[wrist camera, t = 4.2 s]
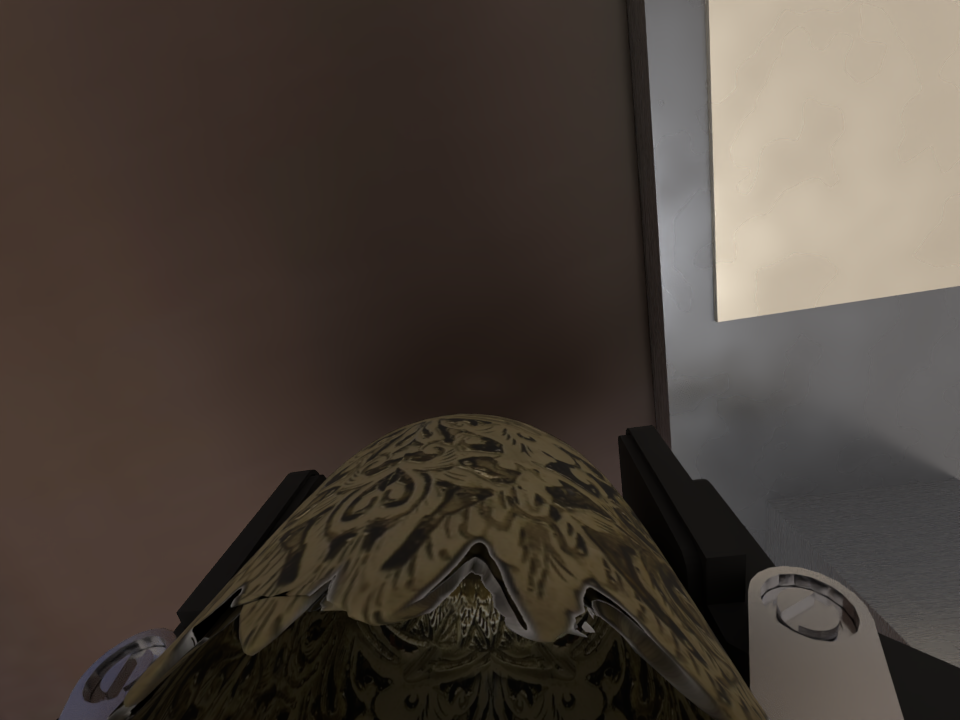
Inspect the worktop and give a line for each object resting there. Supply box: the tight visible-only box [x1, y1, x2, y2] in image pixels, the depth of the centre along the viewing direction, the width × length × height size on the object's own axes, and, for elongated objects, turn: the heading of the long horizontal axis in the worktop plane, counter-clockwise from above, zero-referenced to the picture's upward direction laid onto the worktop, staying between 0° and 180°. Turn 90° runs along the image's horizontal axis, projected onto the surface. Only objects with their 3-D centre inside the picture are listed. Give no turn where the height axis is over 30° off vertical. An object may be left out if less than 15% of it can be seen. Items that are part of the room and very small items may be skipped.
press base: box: [627, 0, 960, 668], centre depth 11 cm, size 26×12×8 cm, turn 10°
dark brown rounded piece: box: [106, 414, 770, 720], centre depth 8 cm, size 8×7×8 cm
